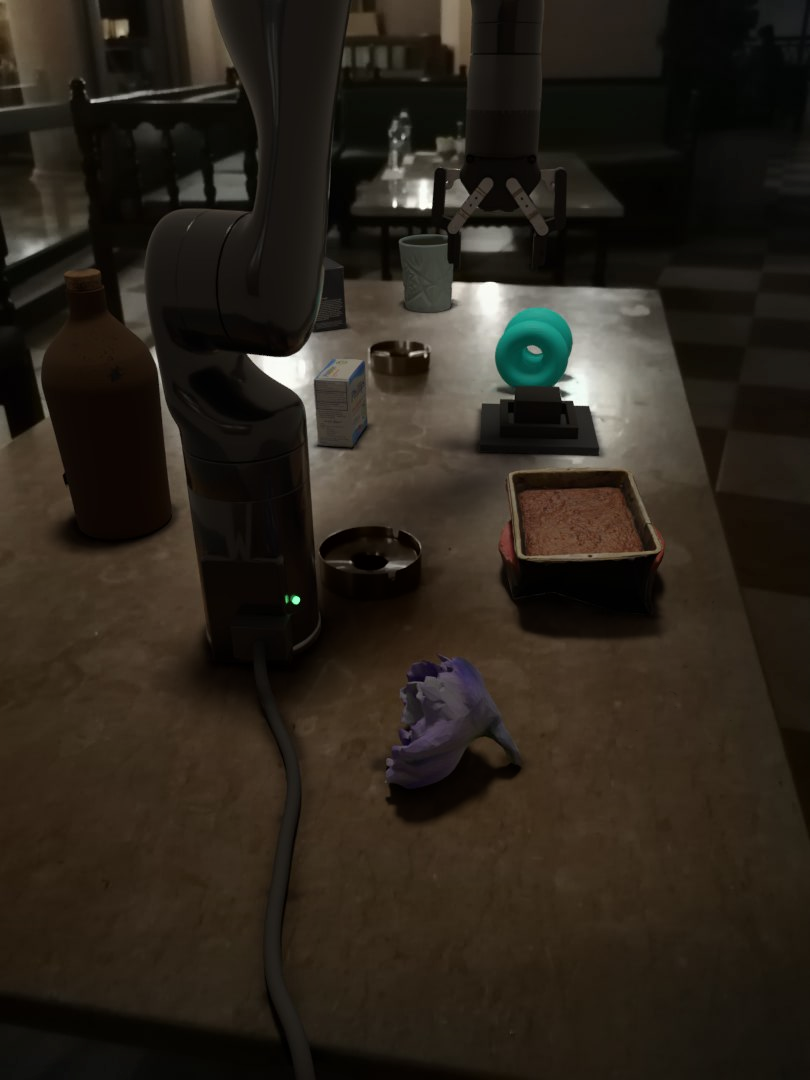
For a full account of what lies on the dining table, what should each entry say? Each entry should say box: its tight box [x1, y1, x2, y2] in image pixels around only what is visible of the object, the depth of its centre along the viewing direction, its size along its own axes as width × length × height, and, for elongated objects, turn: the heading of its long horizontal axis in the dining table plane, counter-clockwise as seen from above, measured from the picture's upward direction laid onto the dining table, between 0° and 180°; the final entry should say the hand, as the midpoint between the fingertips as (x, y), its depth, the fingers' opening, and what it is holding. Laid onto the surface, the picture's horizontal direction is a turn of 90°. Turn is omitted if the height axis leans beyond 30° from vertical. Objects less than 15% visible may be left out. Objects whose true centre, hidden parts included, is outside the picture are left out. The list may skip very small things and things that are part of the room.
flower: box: [384, 652, 522, 790], centre depth 60 cm, size 9×9×10 cm
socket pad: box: [478, 398, 600, 456], centre depth 113 cm, size 14×14×2 cm
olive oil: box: [40, 268, 173, 541], centre depth 87 cm, size 11×11×25 cm
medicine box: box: [313, 358, 368, 448], centre depth 111 cm, size 8×4×9 cm, turn 168°
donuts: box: [494, 306, 574, 390], centre depth 127 cm, size 10×10×10 cm
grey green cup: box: [398, 233, 454, 313], centre depth 164 cm, size 10×10×12 cm
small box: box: [312, 256, 348, 333], centre depth 156 cm, size 11×6×10 cm, turn 25°
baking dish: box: [497, 466, 666, 616], centre depth 81 cm, size 14×18×10 cm
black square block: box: [513, 386, 563, 424], centre depth 112 cm, size 6×6×4 cm
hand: (495, 269), depth 99 cm, fingers open, 8 cm apart
